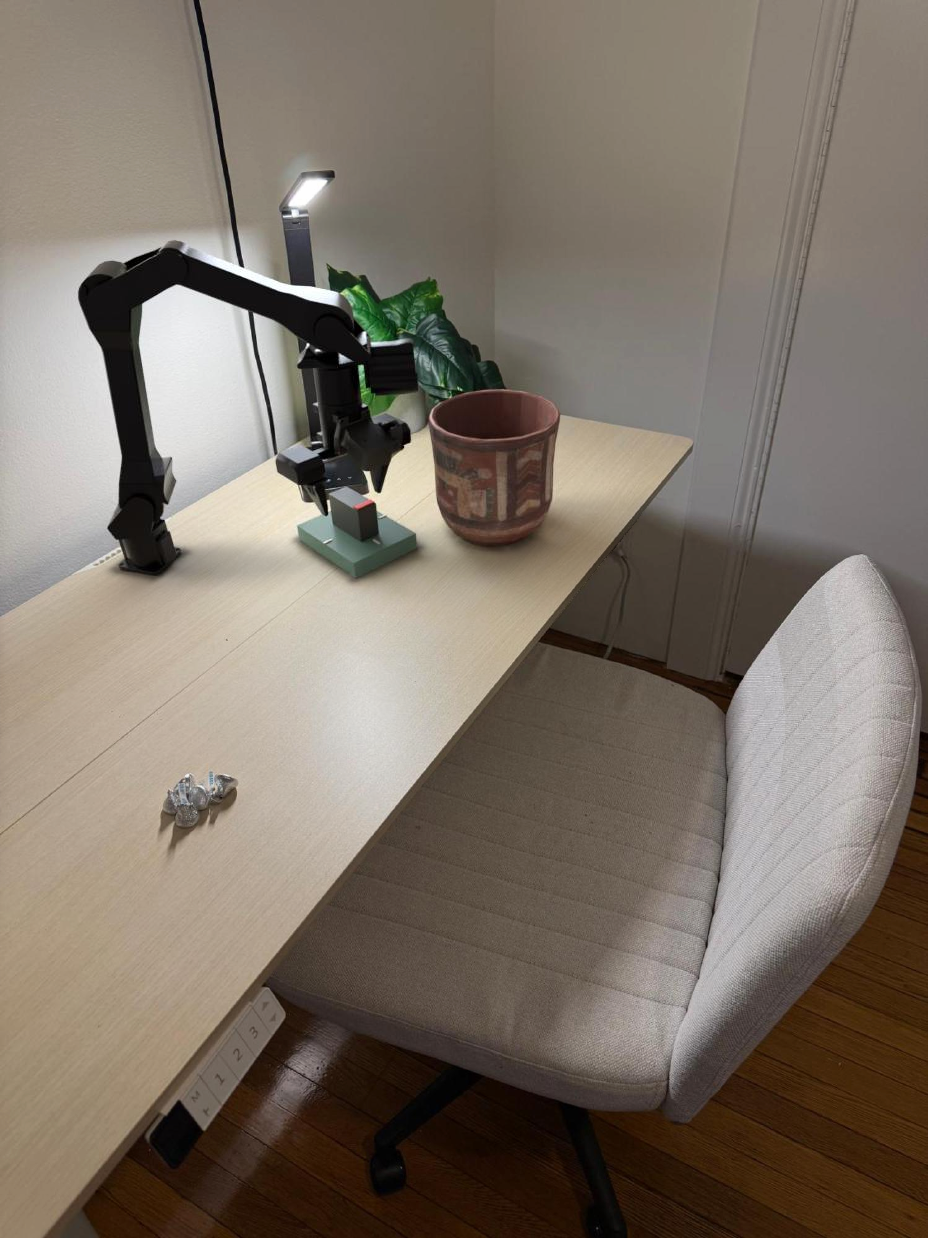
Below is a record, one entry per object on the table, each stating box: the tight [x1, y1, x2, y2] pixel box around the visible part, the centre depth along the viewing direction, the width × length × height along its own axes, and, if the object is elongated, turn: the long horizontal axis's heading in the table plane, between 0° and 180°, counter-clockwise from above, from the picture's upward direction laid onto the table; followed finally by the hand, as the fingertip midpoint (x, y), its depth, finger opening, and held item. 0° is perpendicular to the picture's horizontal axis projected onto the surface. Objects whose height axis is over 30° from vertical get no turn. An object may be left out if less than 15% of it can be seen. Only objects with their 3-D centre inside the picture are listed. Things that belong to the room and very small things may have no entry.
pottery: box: [428, 389, 561, 547], centre depth 117 cm, size 18×18×18 cm
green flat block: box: [296, 510, 418, 579], centre depth 119 cm, size 14×11×3 cm
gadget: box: [328, 486, 379, 542], centre depth 116 cm, size 7×3×5 cm, turn 42°
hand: (352, 503), depth 115 cm, fingers open, 9 cm apart
